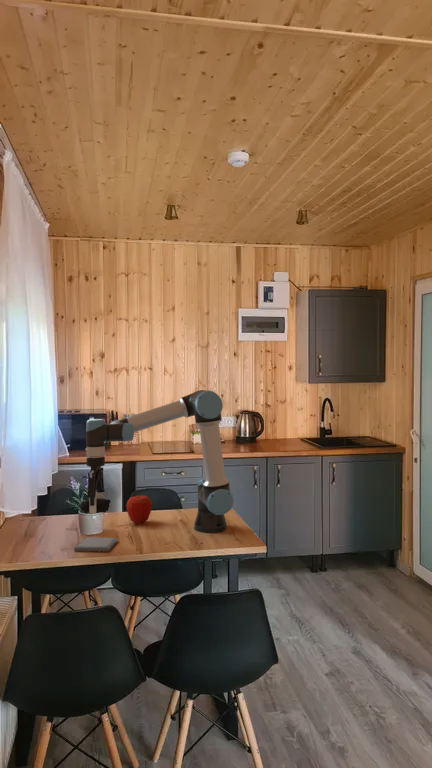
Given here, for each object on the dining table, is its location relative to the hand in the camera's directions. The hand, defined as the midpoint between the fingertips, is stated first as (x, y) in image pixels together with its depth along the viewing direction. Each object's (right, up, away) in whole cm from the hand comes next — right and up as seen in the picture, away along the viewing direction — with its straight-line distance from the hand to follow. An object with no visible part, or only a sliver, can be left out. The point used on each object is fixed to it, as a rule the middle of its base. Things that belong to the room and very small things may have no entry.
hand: (96, 510), depth 234 cm
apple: (+13, -14, +35) cm, 40 cm away
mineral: (0, -1, 0) cm, 1 cm away
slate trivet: (0, -15, 0) cm, 15 cm away
